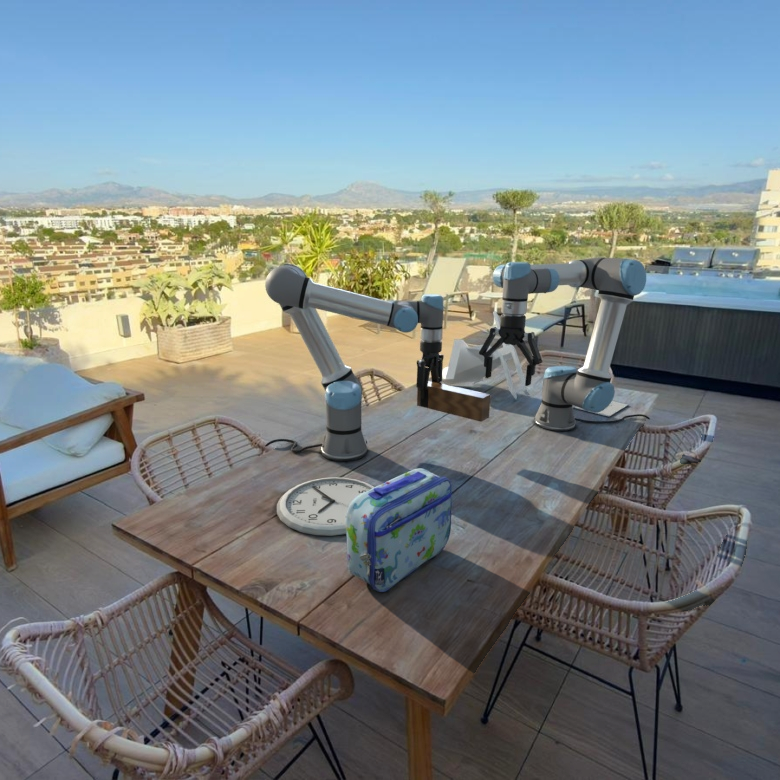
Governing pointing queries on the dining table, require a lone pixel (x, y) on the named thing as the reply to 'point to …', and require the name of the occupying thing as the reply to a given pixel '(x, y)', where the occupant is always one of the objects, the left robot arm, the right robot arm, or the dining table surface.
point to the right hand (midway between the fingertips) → (507, 381)
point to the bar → (457, 401)
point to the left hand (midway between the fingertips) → (428, 403)
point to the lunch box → (398, 527)
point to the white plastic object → (480, 363)
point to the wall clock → (320, 505)
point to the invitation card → (609, 408)
